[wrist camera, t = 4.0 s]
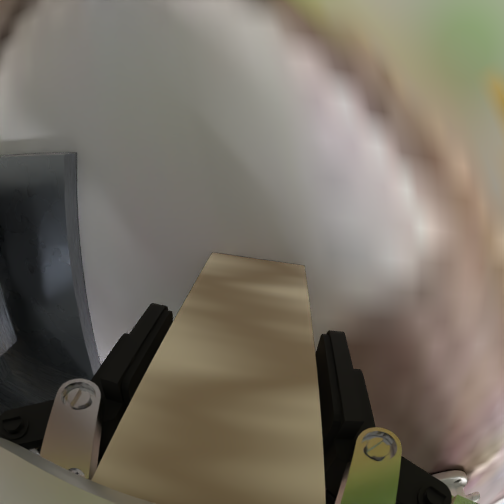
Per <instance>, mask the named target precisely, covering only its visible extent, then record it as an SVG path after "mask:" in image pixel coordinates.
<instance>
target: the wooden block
mask: <svg viewBox="0 0 504 504" xmlns="http://www.w3.org/2000/svg"><path fill="white" fill-rule="evenodd" d="M91 481H93V482H96V483H98V484H101V485H103V486H106V487H108V488H111V489H113V490H116V491H119V492H122V493H125V494H127V495H130V496H133V497H136V498H139V499H143V500H146V501H149V502H153V503H156V504H326V499H325V474H324V455H323V438H322V424H321V411H320V399H319V387H318V376H317V366H316V356H315V346H314V337H313V328H312V320H311V311H310V303H309V295H308V288H307V280H306V273H305V266H303V265H296V264H289V263H282V262H275V261H268V260H261V259H254V258H247V257H240V256H234V255H227V254H220V253H213V252H212V254H211V256H210V257H209V259H208V261H207V262H206V264H205V266H204V268H203V269H202V271H201V273H200V275H199V276H198V278H197V280H196V282H195V283H194V285H193V287H192V289H191V291H190V292H189V294H188V296H187V298H186V299H185V301H184V303H183V305H182V307H181V308H180V310H179V312H178V314H177V316H176V317H175V319H174V321H173V323H172V325H171V326H170V328H169V330H168V332H167V334H166V336H165V337H164V339H163V341H162V343H161V345H160V347H159V349H158V350H157V352H156V354H155V356H154V358H153V360H152V362H151V363H150V365H149V367H148V369H147V371H146V373H145V375H144V377H143V379H142V380H141V382H140V384H139V386H138V388H137V390H136V392H135V394H134V396H133V398H132V400H131V402H130V403H129V405H128V407H127V409H126V411H125V413H124V415H123V417H122V419H121V421H120V423H119V425H118V427H117V429H116V431H115V433H114V435H113V437H112V439H111V441H110V443H109V445H108V447H107V449H106V451H105V453H104V455H103V457H102V459H101V461H100V463H99V466H98V468H97V470H96V472H95V474H94V476H93V478H92V480H91Z"/></svg>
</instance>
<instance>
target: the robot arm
mask: <svg viewBox="0 0 504 504" xmlns="http://www.w3.org/2000/svg"><path fill="white" fill-rule="evenodd" d="M172 323H173V315H172V311H168V308H167V306H164V305H159V304H154V303H152V304H150V306H149V307H148V308H147V310H146V311H145V313H144V314H143V315H142V317H141V318H140V320H139V321H138V323H137V324H136V325H135V327H134V328H133V330H132V331H131V333H130V334H127V333H126V334H123V335H122V337H121V338H120V339H119V341H118V342H117V343H116V345H115V346H114V348H113V349H112V351H111V352H110V353H109V355H108V356H107V358H106V359H105V361H104V362H103V363H102V365H101V366H100V368H99V369H98V371H97V372H96V374H95V375H94V376H93V378H92V379H91V381H90V380H86V379H73V380H69V381H67V382H66V383H64V384H63V385H62V386H61V387H60V388H59V390H58V392H57V394H56V397H55V399H53V400H49V401H45V402H41V403H37V404H32V405H28V406H24V407H19V408H14V409H10V410H7V411H5V412H4V413H2V414H1V415H0V504H156V503H153V502H149V501H146V500H143V499H139V498H136V497H133V496H130V495H127V494H125V493H122V492H119V491H116V490H113V489H111V488H108V487H106V486H103V485H101V484H98V483H96V482H93V481H91V480H92V478H93V476H94V474H95V472H96V470H97V468H98V466H99V463H100V461H101V459H102V457H103V455H104V453H105V451H106V449H107V447H108V445H109V443H110V441H111V439H112V437H113V435H114V433H115V431H116V429H117V427H118V425H119V423H120V421H121V419H122V417H123V415H124V413H125V411H126V409H127V407H128V405H129V403H130V402H131V400H132V398H133V396H134V394H135V392H136V390H137V388H138V386H139V384H140V382H141V380H142V379H143V377H144V375H145V373H146V371H147V369H148V367H149V365H150V363H151V362H152V360H153V358H154V356H155V354H156V352H157V350H158V349H159V347H160V345H161V343H162V341H163V339H164V337H165V336H166V334H167V332H168V330H169V328H170V326H171V325H172ZM315 356H316V366H317V376H318V387H319V399H320V411H321V424H322V438H323V455H324V474H325V499H326V504H478V503H476V501H478V500H479V498H480V494H479V492H475V493H472V494H469V495H467V496H465V494H464V490H463V488H464V487H465V485H466V483H467V477H466V474H465V472H463V471H458V470H453V471H446V472H441V473H437V474H433V475H430V474H429V473H427V472H426V471H424V470H422V469H421V468H419V467H418V466H416V465H415V464H413V463H411V462H410V461H408V460H407V459H405V458H404V457H402V456H401V454H402V446H401V442H400V440H399V438H398V437H397V436H396V435H395V434H394V433H393V432H391V431H389V430H387V429H384V428H379V427H375V423H374V418H373V414H372V410H371V405H370V401H369V397H368V393H367V389H366V385H365V381H364V377H363V373H362V371H361V370H360V369H353V366H352V361H351V357H350V353H349V349H348V345H347V341H346V337H345V333H344V332H338V331H328V332H327V334H322V335H321V337H320V341H319V344H318V347H317V351H316V354H315Z"/></svg>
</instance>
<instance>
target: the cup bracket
mask: <svg viewBox="0 0 504 504" xmlns="http://www.w3.org/2000/svg"><path fill="white" fill-rule="evenodd" d="M76 163H77V153H37V154H17V155H2V156H0V415H1V414H2V413H4V412H5V411H7V410H10V409H14V408H19V407H24V406H28V405H32V404H37V403H41V402H45V401H49V400H53V399H55V397H56V394H57V392H58V390H59V388H60V387H61V386H62V385H63V384H64V383H66V382H67V381H69V380H73V379H86V380H90V381H91V379H92V378H93V376H94V375H95V374H96V372H97V371H98V369H99V368H100V366H101V365H100V361H99V357H98V353H97V348H96V344H95V339H94V335H93V330H92V325H91V320H90V314H89V309H88V303H87V297H86V290H85V284H84V276H83V269H82V260H81V251H80V240H79V228H78V212H77V180H76Z"/></svg>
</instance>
